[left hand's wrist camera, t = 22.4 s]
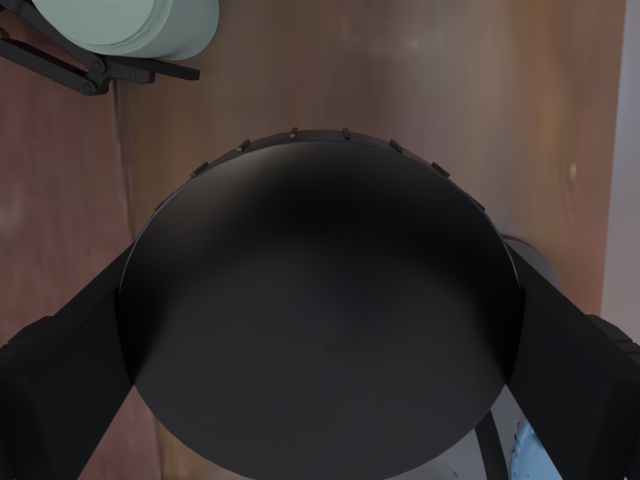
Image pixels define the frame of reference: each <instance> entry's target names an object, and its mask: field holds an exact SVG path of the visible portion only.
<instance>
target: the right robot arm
mask: <svg viewBox="0 0 640 480" xmlns="http://www.w3.org/2000/svg"><path fill="white" fill-rule="evenodd" d="M5 9H8V10H9V11H10V12H12V13H14V14H16V15H18V16H20V17H21V18H23V19H24V20H25V21H27V22H28V23H29V24H31V25H32V26H33V27H34V28H36V29H37V30H38V31H40V32H41V33H42V34H44V35H45V36H46V37H48V38H49V39H50V40H51V41H53V42H54V43H55V44H57V45H58V46H59V47H61V48H62V49H63V50H65V51H66V52H67V53H68V54H70V55H71V56H72V57H74V58H75V59H76V60H78V61H79V62H80V63H82V64H83V65H84V66H85V67H87V68H88V69H89V71H88V72H85V71H83V70H81V69H79V68H77V67H75V66H73V65H71V64H69V63H66V62H64V61H62V60H60V59H58V58H56V57H54V56H52V55H49V54H47V53H45V52H43V51H41V50H39V49H37V48H35V47H33V46H30V45H28V44H26V43H24V42H21V41H18V40H14V39H10V35H9V33H8V32H6V30H5V29H3V28H2V27H0V56H2V57H4V58H6V59H9V60H11V61H13V62H15V63H17V64H19V65H22V66H24V67H26V68H28V69H30V70H32V71H34V72H37V73H39V74H41V75H43V76H45V77H47V78H50V79H52V80H54V81H56V82H58V83H60V84H62V85H65V86H67V87H69V88H71V89H73V90H75V91H78V92H80V93H82V94H84V95H87V96H94V95H103V94H106V93H107V92H108V91H109V86H108V85H109V83H110V81H111V79H112V78H118V79H123V80H127V81H131V82H136V83H140V84H148V83H154V82H155V72H156V73H160V74H165V75H169V76H173V77H177V78H182V79H186V80H199V75H200V70H196V69H191V68H187V67H183V66H179V65H175V64H171V63H166V62H162V61H158V60H154V59H150V58H139V57H127V56H115V55H104V54H99V53H95V52H92V51H89V50H86V49H84V48H82V47H80V46H78V45H76V44H74V43H73V42H71V41H70V40H68V39H67V38H66V37H65V36H63V35H62V34H61V33H60V32H59V31H58V30H57V29H56V28H55V27H54V26H53V25H51V24H50V23H49V22H48V21H47V20H46V19H45V18H44V16H43V15H42V14H41V13H40V11H39V10H38V9H37V7H36V6H35V4H34V3H33V1H32V0H0V12H2V11H3V10H5Z"/></svg>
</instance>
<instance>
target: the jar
mask: <svg viewBox="0 0 640 480" xmlns="http://www.w3.org/2000/svg"><path fill="white" fill-rule="evenodd" d="M32 1H33V3H34V4H35V6H36V7H37V9H38V10H39V11H40V13H41V14H42V15H43V16H44V18H45V19H46V20H47V21H48V22H49V23H50V24H51V25H53V26H54V27H55V28H56V29H57V30H58V31H59V32H60V33H61V34H62V35H63V36H65V37H66V38H67V39H68V40H70V41H71V42H73V43H74V44H76V45H78V46H80V47H82V48H84V49H86V50H89V51H92V52H95V53H99V54H104V55H115V56H127V57H139V58H151V59H163V60H183V59H188V58H190V57H193V56H195V55H197V54H198V53H200V52H201V51H202V50H204V49H205V47H206V46H207V45H208V44H209V43H210V41H211V40H212V38H213V36H214V34H215V32H216V29H217V26H218V21H219V0H32Z"/></svg>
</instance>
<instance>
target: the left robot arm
mask: <svg viewBox="0 0 640 480" xmlns="http://www.w3.org/2000/svg"><path fill="white" fill-rule="evenodd" d="M502 238H503V240H504V242H505V244H506V247H507V248H508V251H509V253H510V255H511V257H512V259H513V262H514V266H515V269H516V273H517V276H518V280H519V283H520V291H521V299H522V307H523V310H522V332H521V337H520V342H519V347H518V352H517V357H516V360H515V362H514V365H513V368H512V371H511V374H510V376H509V378H508V380H507V382H506V384H505V386H504V388H503V390H502V392H501V394H500V395H499V397H498V398H497V400H496V401H495V403H494V404H493V406H492V407H491V408H490V410H489V411H488V413H487V414H486V415H485V416H484V417H483V418H482V419H481V421H480V422H479V423H478V424H477V425H476V426H475V427H474V428H473V429H472V430H471V431H470V432H469V433H468V434H467V435H466V436H464V437H463V438H462V439H461V440H460V441H459V442H458V443H457V444H455V445H454V446H452V447H451V448H449V449H448V450H447V451H445V452H444V453H442V454H441V455H439V456H438V457H436V458H434V459H432V460H431V461H429V462H427V463H425V464H423V465H421V466H420V467H418V468H415V469H413V470H410V471H408V472H406V473H403V474H401V475H398V476H395V477H392V478H389V479H385V480H640V346H639V345H638V344H636V343H633V342H632V339H631V338H629V337H628V336H627V335H626V334H625V333H624V332H622V331H621V330H620V329H619V328H618V327H617V326H615V325H613V324H611V323H609V322H607V321H605V320H603V319H601V318H600V317H598V316H596V315H585V314H584V313H582V312H581V311H580V310H579V309H578V308H577V307H576V306H575V305H574V304H573V303H572V302H570V301H569V300H568V299H567V298H566V297H565V296H564V295H563V292H562V290H561V287H560V283H559V280H558V277H557V275H556V273H555V271H554V270H553V268H552V266H551V265H550V263H549V262H548V261H547V260H546V259H545V258H544V257H543V256H542V255H541V254H540V253H539V252H537V251H536V250H535V249H534V248H532V247H531V246H530V245H528V244H526V243H524V242H522V241H520V240H517V239H514V238H511V237H506V236H502ZM134 244H135V242H134V243H133V244H131V245H130V246H129V247H128V248H127V249H126V250H125V251H124V252H123V253H122V254H121V255H119V256H118V257H117V258H116V259H115V260H114V261H113V262H112V263H111V264H110V265H109V266H107V267H106V268H105V269H104V270H103V271H102V272H101V273H100V274H99V275H98V276H97V277H95V278H94V279H93V280H92V281H91V282H90V283H89V284H88V285H87V286H86V287H85V288H83V289H82V290H81V291H80V292H79V293H78V294H77V295H76V296H75V297H74V298H73V299H71V300H70V301H69V302H68V303H67V304H66V305H65V306H64V307H63V308H62V309H61V310H59V311H58V312H57V313H56V314H55V315H54V316H45V317H43V318H41V319H40V320H38V321H36V322H34V323H32V324H30V325H28V326H26V327H24V328H23V329H22V330H21V331H20V332H18V333H17V334H16V335H15V336H14V337H13V338H11V339H10V340H9V341H8V344H7V345H3V346H2V347H1V348H0V480H14V479H16V480H77V479H78V477H79V476H80V474H81V472H82V470H83V469H84V467H85V465H86V464H87V462H88V460H89V459H90V457H91V455H92V454H93V452H94V450H95V449H96V447H97V445H98V444H99V442H100V440H101V439H102V437H103V435H104V434H105V432H106V430H107V428H108V427H109V425H110V423H111V422H112V420H113V418H114V417H115V415H116V413H117V412H118V410H119V408H120V407H121V405H122V403H123V402H124V400H125V398H126V397H127V395H128V393H129V392H130V390H131V388H132V386H133V385H134V383H133V381H132V379H131V377H130V375H129V372H128V369H127V366H126V363H125V361H124V358H123V355H122V350H121V344H120V339H119V334H118V319H117V305H118V296H119V287H120V283H121V279H122V275H123V272H124V268H125V264H126V261H127V259H128V257H129V255H130V253H131V250H132V248H133V246H134Z"/></svg>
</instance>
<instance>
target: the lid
mask: <svg viewBox="0 0 640 480" xmlns="http://www.w3.org/2000/svg"><path fill="white" fill-rule="evenodd" d="M190 175H191V177H192V179H190V180H189V181H188V182H187V183H186V184H184V185H183V186H182V187H181V188H179V189H178V190H177V191H176V192H175V193H172V194H171V195H170V196H169V197H168V198H166V199H165V200H164V201H163V202H162V203H160V204H159V205H158V206H157V207H156V208H155V210H156V212H155V213H154V214H153V216H152V217H151V218H150V219H149V221H148V222H147V224H146V226H145V227H144V229H143V230H142V232H141V233H140V235H139V236H138V238H137V239H136V241H135V244H134V246H133V248H132V250H131V253H130V255H129V257H128V259H127V261H126V264H125V268H124V272H123V275H122V279H121V283H120V287H119V296H118V305H117V319H118V334H119V339H120V344H121V350H122V355H123V358H124V361H125V363H126V366H127V369H128V372H129V375H130V377H131V379H132V381H133V383H134V385H135V387H136V389H137V391H138V392H139V394H140V396H141V398H142V399H143V400H144V402H145V403H146V405H147V406H148V408H149V409H150V410H151V412H152V413H153V414H154V416H155V417H156V418H157V419H158V420H159V421H160V422H161V423H162V424H163V425H164V427H165V428H166V429H167V430H168V431H169V432H170V433H172V434H173V435H174V436H175V437H176V438H177V439H179V440H180V441H181V442H182V443H183V444H184V445H186V446H187V447H189V448H190V449H192V450H193V451H194V452H196V453H197V454H199V455H200V456H202V457H203V458H205V459H207V460H209V461H211V462H213V463H215V464H216V465H218V466H220V467H222V468H224V469H227V470H229V471H232V472H234V473H236V474H239V475H241V476H244V477H247V478H251V479H254V480H385V479H389V478H392V477H395V476H398V475H401V474H403V473H406V472H408V471H410V470H413V469H415V468H418V467H420V466H421V465H423V464H425V463H427V462H429V461H431V460H432V459H434V458H436V457H438V456H439V455H441V454H442V453H444V452H445V451H447V450H448V449H449V448H451V447H452V446H454V445H455V444H457V443H458V442H459V441H460V440H461V439H462V438H463V437H464V436H466V435H467V434H468V433H469V432H470V431H471V430H472V429H473V428H474V427H475V426H476V425H477V424H478V423H479V422H480V421H481V419H482V418H483V417H484V416H485V415H486V414H487V413H488V411H489V410H490V408H491V407H492V406H493V404H494V403H495V401H496V400H497V398H498V397H499V395H500V394H501V392H502V390H503V388H504V386H505V384H506V382H507V380H508V378H509V376H510V374H511V371H512V368H513V365H514V362H515V360H516V357H517V352H518V347H519V342H520V337H521V332H522V310H523V307H522V299H521V291H520V283H519V280H518V276H517V273H516V269H515V266H514V262H513V259H512V257H511V255H510V253H509V251H508V248H507V247H506V244H505V242H504V240H503V238H502V236H501V235H500V233H499V232H498V230H497V229H496V227H495V226H494V224H493V223H492V221H491V220H490V218H489V217H488V216H487V215H486V213H485V212H484V211H485V208H484V207H483V206H482V205H481V204H479V203H478V202H477V201H476V200H474V199H473V198H472V197H471V196H470V195H468V194H467V193H465V192H464V191H463V190H462V189H460V188H459V187H458V186H457V185H456V184H454V183H453V182H452V181H451V180H450V179H448V177H449V176H450V174H449V173H447V172H446V171H445V170H444V169H442V168H441V167H440V166H438V165H437V164H436V163H435V162H433V163H432V164H430V163H428V162H427V161H425V160H423V159H422V158H420V157H418V156H417V155H415V154H413V153H412V152H410V151H408V150H406V149H404V148H403V147H402V146H400V145H399V144H398V143H397V142H396V141H395V140H392V139H391V141H390V142H388V141H385V140H382V139H378V138H375V137H371V136H367V135H364V134H360V133H354V132H349V130H348V128H344V127H343V131H338V130H301V131H298V129H297V127H296V128H292V131H291V132H287V133H279V134H276V135H272V136H269V137H265V138H262V139H258V140H254V141H252V142H250V140H249V139H248V140H245V141H244V142H243V143H242V144H241V145H240V146H238V147H237V148H236V149H234V150H231V151H229V152H228V153H226V154H225V155H223V156H221V157H220V158H218V159H216V160H215V161H213V162H211V163H210V164H208V163H207V162H205V163H204V164H203V165H201V166H200V167H199V168H197V169H196V170H195V171H194V172H192V173H191V174H190Z"/></svg>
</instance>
